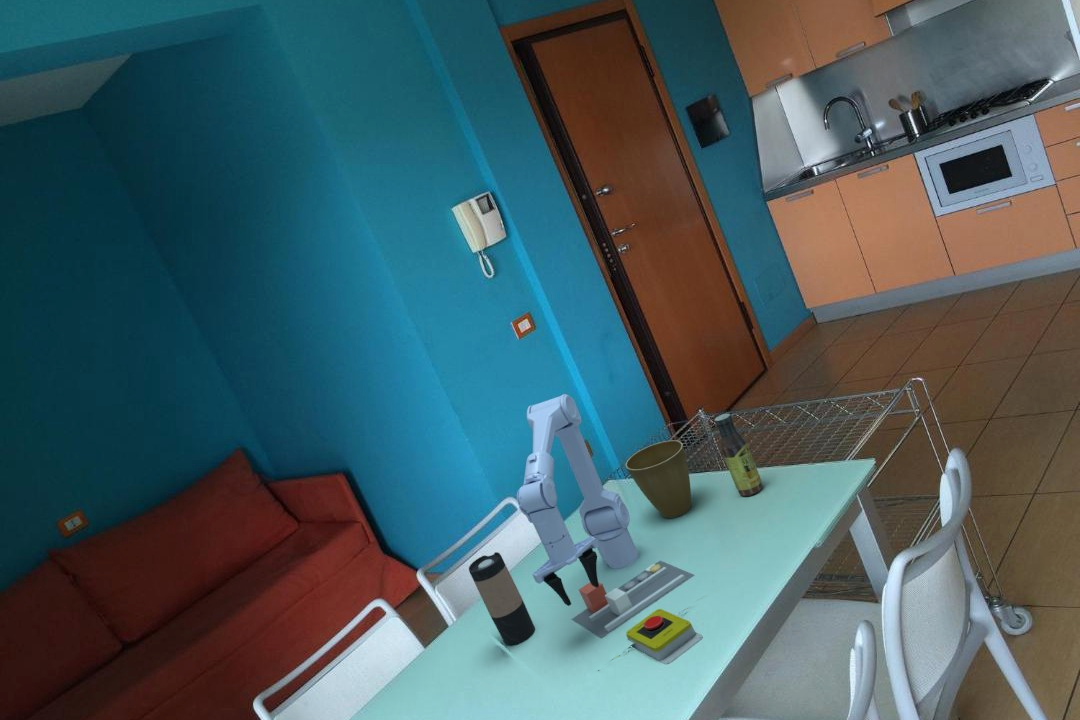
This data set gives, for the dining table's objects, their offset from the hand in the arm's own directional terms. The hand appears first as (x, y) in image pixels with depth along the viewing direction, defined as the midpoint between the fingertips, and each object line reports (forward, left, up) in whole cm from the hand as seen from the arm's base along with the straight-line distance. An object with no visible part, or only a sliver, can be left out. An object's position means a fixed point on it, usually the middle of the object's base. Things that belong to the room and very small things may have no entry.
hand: (581, 594), depth 185 cm
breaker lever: (0, +7, -8) cm, 10 cm away
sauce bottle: (-17, +55, -10) cm, 58 cm away
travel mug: (-17, -11, -10) cm, 22 cm away
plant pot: (-30, +41, -10) cm, 51 cm away
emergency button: (+16, +6, -10) cm, 20 cm away
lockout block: (-7, +5, -8) cm, 11 cm away
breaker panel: (-3, +11, -9) cm, 14 cm away
